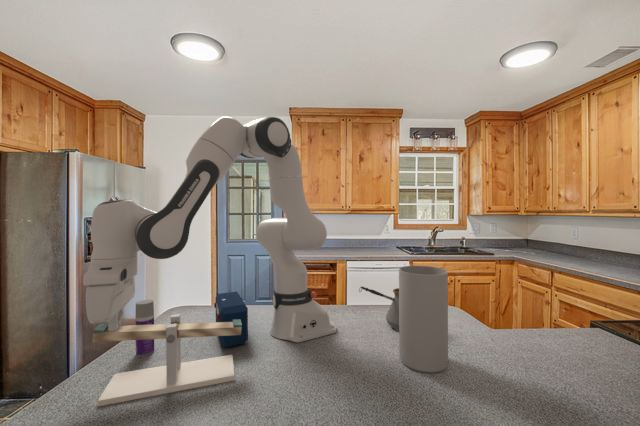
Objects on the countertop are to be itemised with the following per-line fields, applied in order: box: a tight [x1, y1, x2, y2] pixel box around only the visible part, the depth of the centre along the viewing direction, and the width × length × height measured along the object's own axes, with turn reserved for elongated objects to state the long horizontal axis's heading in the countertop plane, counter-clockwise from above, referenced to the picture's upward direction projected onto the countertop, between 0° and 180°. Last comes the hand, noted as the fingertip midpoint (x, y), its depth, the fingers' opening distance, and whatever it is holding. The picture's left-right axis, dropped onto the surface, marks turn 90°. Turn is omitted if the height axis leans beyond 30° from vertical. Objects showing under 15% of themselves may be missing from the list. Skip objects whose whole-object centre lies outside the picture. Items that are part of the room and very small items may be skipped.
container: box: [134, 299, 155, 358], centre depth 85 cm, size 5×5×15 cm
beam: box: [91, 319, 242, 343], centre depth 72 cm, size 32×4×3 cm, turn 109°
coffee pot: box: [358, 286, 399, 331], centre depth 102 cm, size 21×12×15 cm, turn 98°
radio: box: [213, 291, 249, 348], centre depth 97 cm, size 21×9×20 cm, turn 24°
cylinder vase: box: [398, 265, 449, 374], centre depth 79 cm, size 12×12×25 cm
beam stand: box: [97, 313, 236, 407], centre depth 72 cm, size 28×11×15 cm, turn 109°
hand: (114, 328), depth 67 cm, fingers closed, pressing on beam
